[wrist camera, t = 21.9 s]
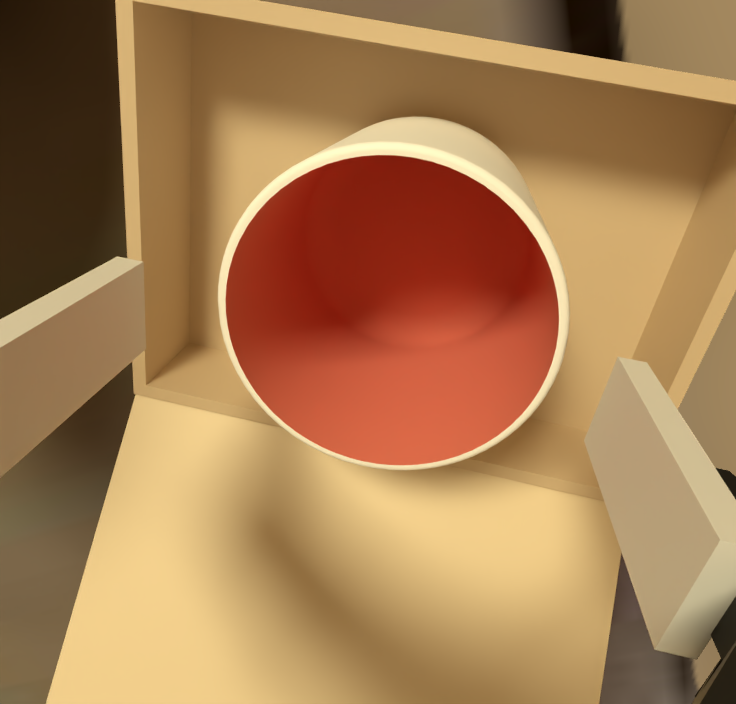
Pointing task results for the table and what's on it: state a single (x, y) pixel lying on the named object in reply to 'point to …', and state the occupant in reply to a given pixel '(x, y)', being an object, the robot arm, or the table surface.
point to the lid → (330, 578)
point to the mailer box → (449, 102)
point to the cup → (396, 297)
